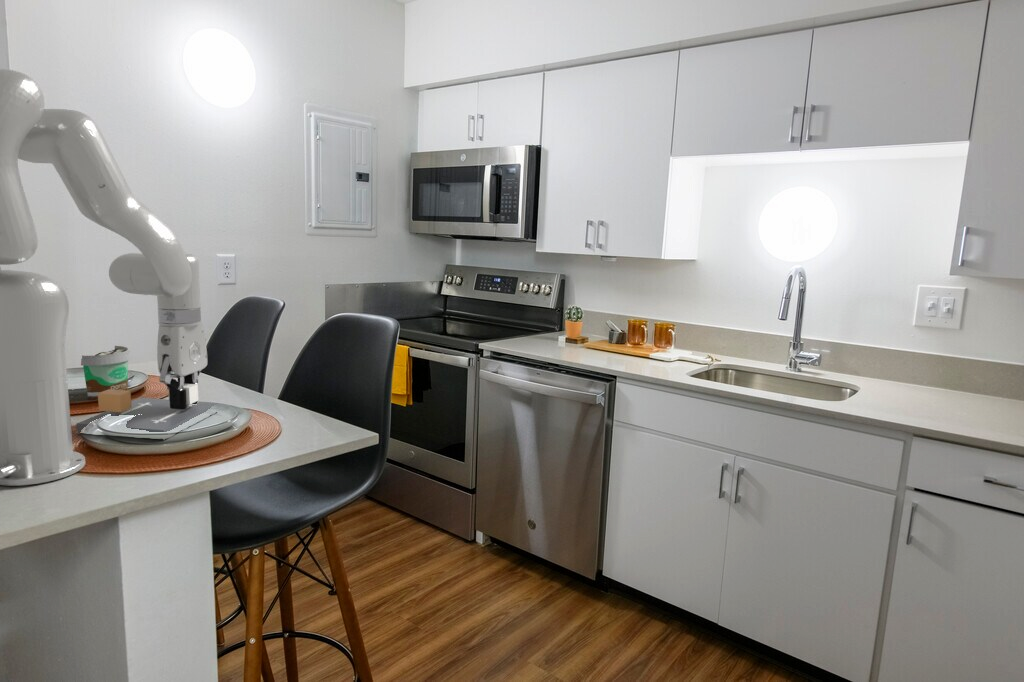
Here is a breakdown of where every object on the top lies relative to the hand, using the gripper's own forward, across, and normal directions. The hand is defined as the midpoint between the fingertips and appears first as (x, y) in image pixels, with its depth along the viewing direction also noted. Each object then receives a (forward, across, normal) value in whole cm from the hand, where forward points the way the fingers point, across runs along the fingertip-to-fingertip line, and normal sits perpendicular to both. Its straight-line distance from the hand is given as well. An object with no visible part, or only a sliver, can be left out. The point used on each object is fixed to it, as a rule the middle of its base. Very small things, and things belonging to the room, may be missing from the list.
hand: (183, 405), depth 130 cm
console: (+3, -4, +4) cm, 6 cm away
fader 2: (0, 0, 0) cm, 0 cm away
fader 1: (0, -8, +9) cm, 12 cm away
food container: (+3, +12, +24) cm, 27 cm away
